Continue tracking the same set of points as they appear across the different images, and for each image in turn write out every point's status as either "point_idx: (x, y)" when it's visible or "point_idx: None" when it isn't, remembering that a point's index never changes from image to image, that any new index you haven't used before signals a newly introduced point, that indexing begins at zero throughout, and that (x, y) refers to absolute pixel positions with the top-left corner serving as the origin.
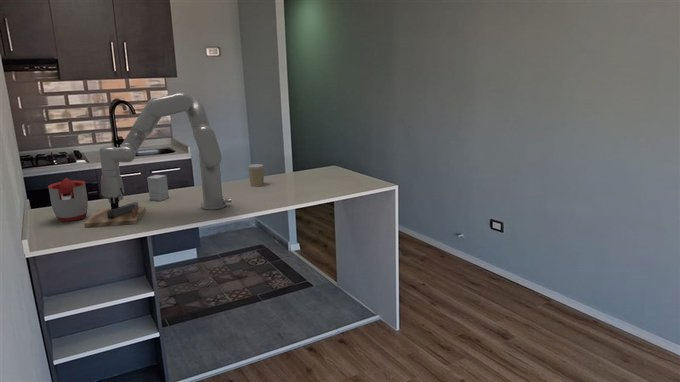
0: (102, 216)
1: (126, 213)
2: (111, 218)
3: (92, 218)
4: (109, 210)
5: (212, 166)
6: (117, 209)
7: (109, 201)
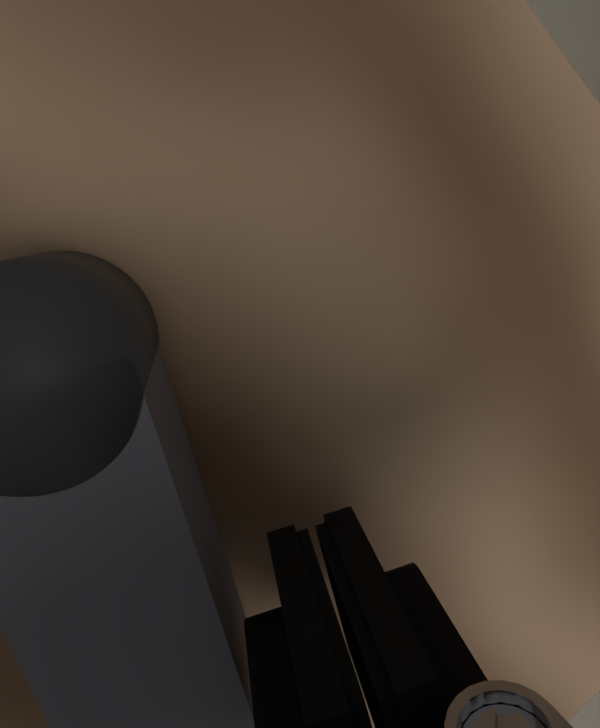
0: (374, 261)
1: None
2: None
3: (431, 16)
4: (134, 402)
5: None
6: (29, 616)
7: (551, 724)
